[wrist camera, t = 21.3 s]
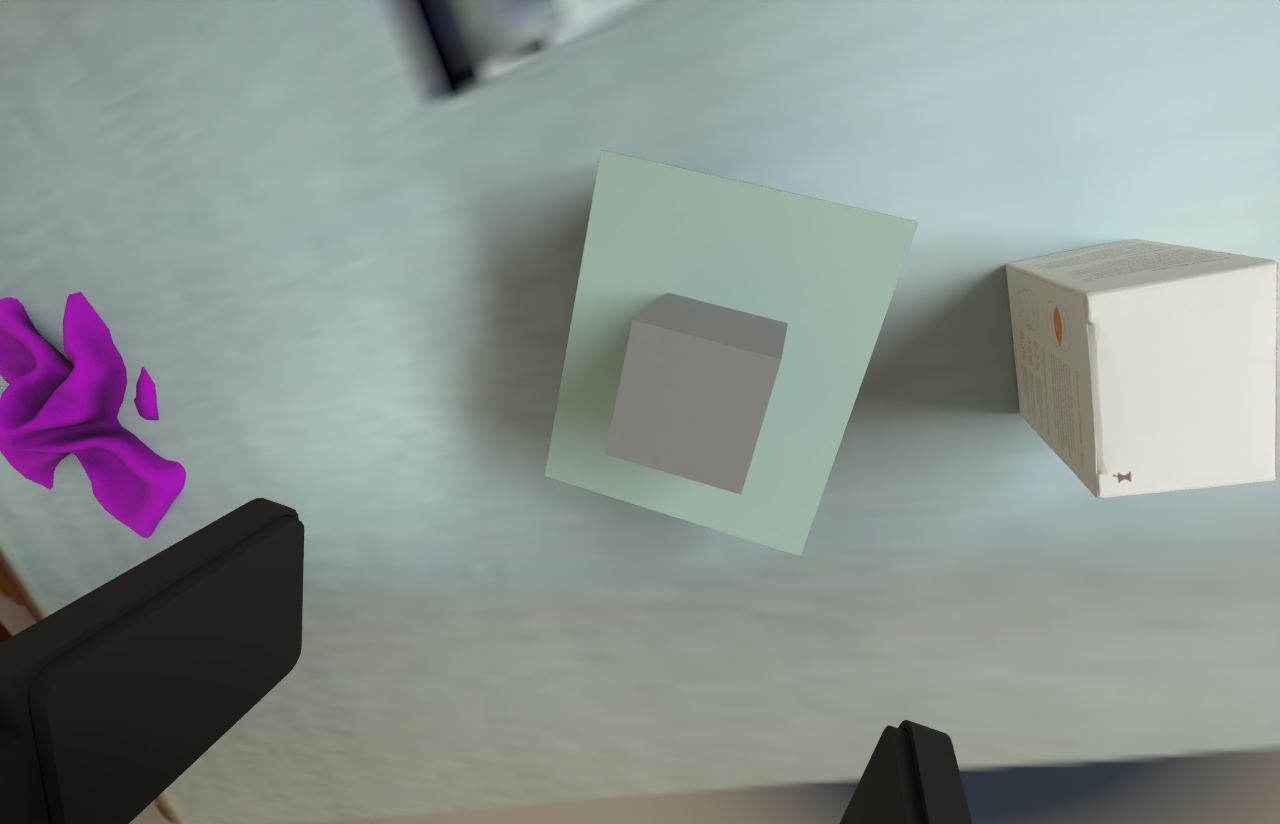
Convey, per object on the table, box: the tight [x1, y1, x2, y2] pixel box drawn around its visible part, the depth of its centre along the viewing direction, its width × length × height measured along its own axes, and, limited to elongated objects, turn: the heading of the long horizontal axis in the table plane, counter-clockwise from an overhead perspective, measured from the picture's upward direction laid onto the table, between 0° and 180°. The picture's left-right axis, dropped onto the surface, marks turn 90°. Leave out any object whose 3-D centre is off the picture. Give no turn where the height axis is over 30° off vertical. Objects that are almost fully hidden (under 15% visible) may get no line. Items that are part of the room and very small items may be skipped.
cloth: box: [0, 292, 186, 538], centre depth 47 cm, size 22×18×6 cm
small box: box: [1006, 239, 1278, 498], centre depth 28 cm, size 8×6×10 cm
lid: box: [545, 150, 918, 556], centre depth 28 cm, size 15×12×1 cm
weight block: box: [605, 293, 788, 495], centre depth 25 cm, size 5×5×6 cm
